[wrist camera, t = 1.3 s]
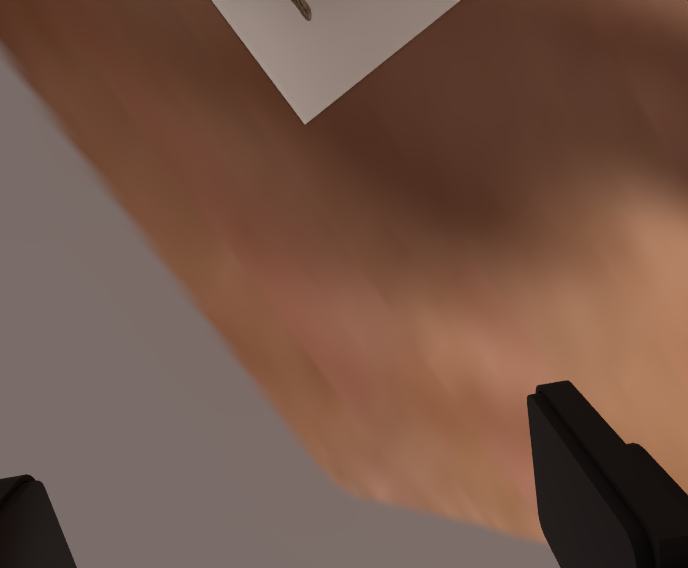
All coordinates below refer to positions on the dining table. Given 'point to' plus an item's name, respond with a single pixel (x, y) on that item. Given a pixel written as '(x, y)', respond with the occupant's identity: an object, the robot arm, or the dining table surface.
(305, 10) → the eagle figurine
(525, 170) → the dining table surface
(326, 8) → the white square panel
